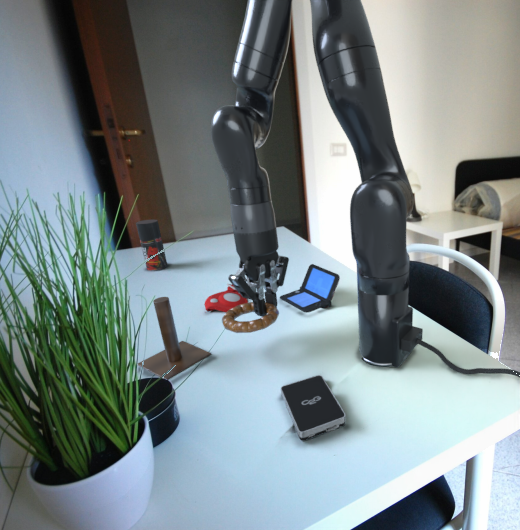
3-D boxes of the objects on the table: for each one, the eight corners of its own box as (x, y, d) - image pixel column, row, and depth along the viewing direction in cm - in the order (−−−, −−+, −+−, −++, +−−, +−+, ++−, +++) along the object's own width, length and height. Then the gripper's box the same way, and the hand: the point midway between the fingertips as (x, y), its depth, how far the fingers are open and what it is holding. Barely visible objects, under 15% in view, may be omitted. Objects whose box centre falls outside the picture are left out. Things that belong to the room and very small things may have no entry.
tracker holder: (254, 305, 89) (210, 307, 83) (251, 320, 90) (207, 323, 84) (241, 279, 97) (200, 278, 91) (238, 293, 99) (198, 293, 93)
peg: (212, 358, 70) (200, 295, 66) (167, 385, 63) (150, 316, 58) (183, 345, 74) (170, 285, 70) (138, 369, 67) (120, 304, 63)
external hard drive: (300, 445, 50) (299, 433, 50) (280, 396, 60) (279, 386, 59) (347, 427, 53) (346, 416, 52) (321, 383, 62) (320, 373, 62)
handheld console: (278, 300, 93) (274, 273, 91) (313, 288, 100) (311, 262, 98) (306, 317, 85) (303, 287, 82) (342, 302, 92) (341, 274, 89)
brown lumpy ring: (289, 315, 71) (288, 306, 70) (250, 340, 63) (248, 329, 62) (253, 305, 76) (251, 296, 75) (211, 327, 68) (209, 317, 67)
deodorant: (171, 264, 121) (161, 219, 116) (160, 270, 116) (149, 224, 111) (154, 263, 122) (144, 219, 117) (142, 270, 116) (131, 224, 111)
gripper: (238, 238, 59) (253, 333, 65) (296, 220, 70) (304, 302, 76) (208, 233, 63) (225, 323, 69) (267, 216, 74) (277, 295, 80)
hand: (266, 312), depth 72 cm, fingers closed on brown lumpy ring, 2 cm apart
